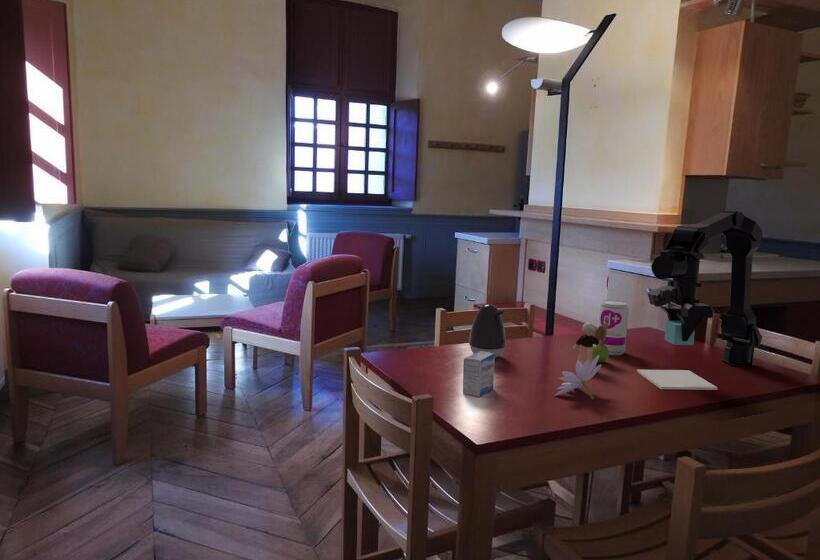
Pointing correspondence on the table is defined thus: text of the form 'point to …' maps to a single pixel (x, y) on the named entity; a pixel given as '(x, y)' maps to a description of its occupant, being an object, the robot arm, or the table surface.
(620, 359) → the table surface
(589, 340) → the grandmother figurine
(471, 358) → the medicine box
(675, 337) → the cube
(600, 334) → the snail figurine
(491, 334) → the penguin figurine
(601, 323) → the supplement can
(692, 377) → the tile
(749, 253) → the robot arm
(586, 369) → the water lily
